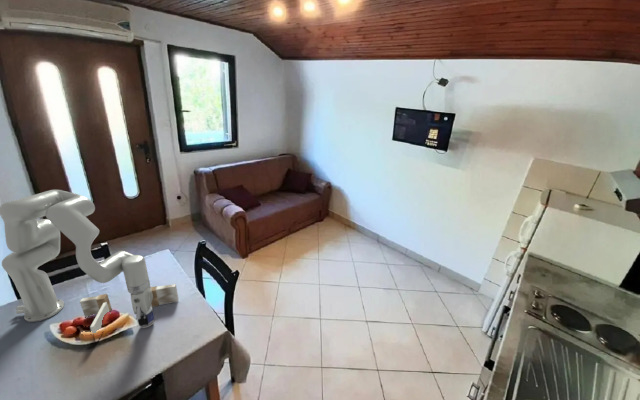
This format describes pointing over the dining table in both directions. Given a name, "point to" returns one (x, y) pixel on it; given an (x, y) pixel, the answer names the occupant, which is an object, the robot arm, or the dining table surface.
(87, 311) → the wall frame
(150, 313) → the pill bottle
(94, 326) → the white rectangular slab
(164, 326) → the dining table surface
